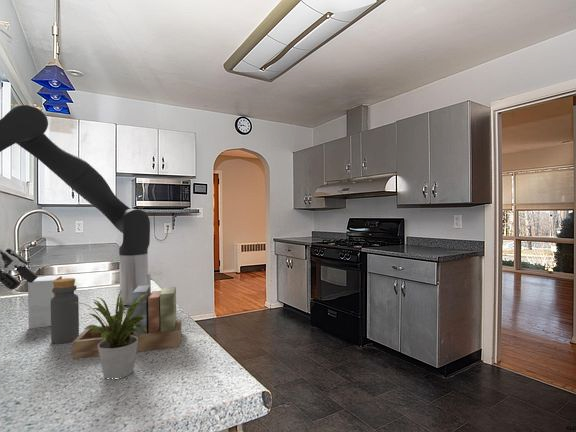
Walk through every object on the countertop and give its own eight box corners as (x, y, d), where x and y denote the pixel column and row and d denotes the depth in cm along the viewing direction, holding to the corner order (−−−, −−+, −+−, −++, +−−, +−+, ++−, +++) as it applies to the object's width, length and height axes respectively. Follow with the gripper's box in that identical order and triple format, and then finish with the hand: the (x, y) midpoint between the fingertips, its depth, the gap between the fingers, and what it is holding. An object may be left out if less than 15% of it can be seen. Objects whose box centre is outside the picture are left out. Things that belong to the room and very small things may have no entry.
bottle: (49, 345, 81) (48, 283, 81) (53, 337, 86) (52, 279, 86) (78, 341, 83) (77, 280, 83) (80, 333, 89) (79, 276, 89)
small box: (54, 326, 95) (54, 280, 95) (27, 328, 93) (27, 281, 93) (63, 317, 103) (62, 275, 103) (38, 320, 101) (37, 277, 101)
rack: (72, 358, 73) (71, 297, 73) (87, 341, 83) (86, 288, 83) (179, 346, 79) (178, 290, 79) (181, 332, 88) (180, 282, 88)
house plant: (59, 403, 56) (57, 304, 56) (74, 368, 68) (73, 288, 68) (152, 384, 61) (151, 294, 61) (150, 355, 74) (149, 281, 74)
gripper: (-40, 227, 73) (23, 276, 76) (-1, 225, 87) (50, 267, 90) (-69, 252, 72) (-4, 302, 75) (-26, 246, 85) (28, 288, 88)
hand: (26, 283), depth 82 cm, fingers open, 8 cm apart
